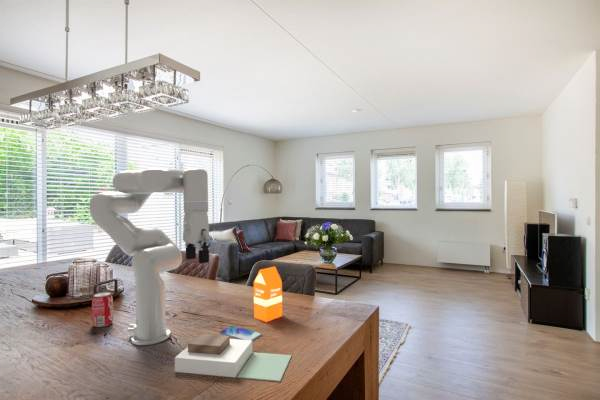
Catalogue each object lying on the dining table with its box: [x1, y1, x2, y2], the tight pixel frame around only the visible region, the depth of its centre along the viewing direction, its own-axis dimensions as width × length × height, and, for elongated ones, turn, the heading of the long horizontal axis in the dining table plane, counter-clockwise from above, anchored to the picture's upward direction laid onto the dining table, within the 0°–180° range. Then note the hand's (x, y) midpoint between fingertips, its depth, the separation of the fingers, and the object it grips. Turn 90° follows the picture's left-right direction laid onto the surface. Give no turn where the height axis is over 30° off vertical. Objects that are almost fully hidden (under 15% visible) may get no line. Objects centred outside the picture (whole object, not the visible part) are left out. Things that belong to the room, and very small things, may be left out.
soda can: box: [91, 291, 114, 328], centre depth 126 cm, size 7×7×12 cm
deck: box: [174, 338, 254, 378], centre depth 96 cm, size 18×14×4 cm
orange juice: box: [253, 266, 283, 323], centre depth 132 cm, size 8×9×20 cm
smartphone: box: [218, 325, 263, 342], centre depth 116 cm, size 7×1×15 cm
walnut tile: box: [187, 333, 231, 355], centre depth 96 cm, size 10×7×2 cm
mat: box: [236, 351, 292, 382], centre depth 93 cm, size 12×14×1 cm
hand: (197, 260), depth 104 cm, fingers open, 9 cm apart
